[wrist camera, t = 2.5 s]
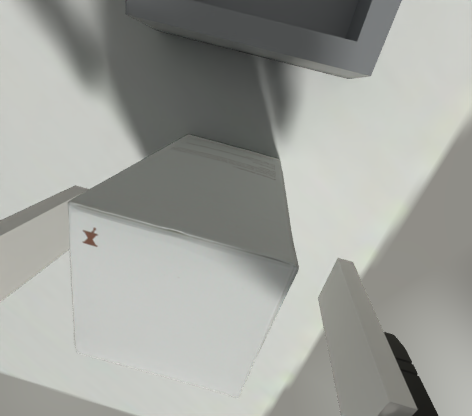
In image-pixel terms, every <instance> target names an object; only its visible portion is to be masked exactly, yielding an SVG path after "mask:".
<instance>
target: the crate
mask: <svg viewBox="0 0 472 416" xmlns="http://www.w3.org/2000/svg"><path fill="white" fill-rule="evenodd" d="M401 1H402V0H126V15H128V16H130V17H132V18H134V19H136V20H138V21H140V22H142V23H144V24H146V25H148V26H150V27H152V28H154V29H156V30H158V31H161V32H165V33H169V34H173V35H177V36H181V37H185V38H189V39H193V40H197V41H201V42H205V43H209V44H213V45H217V46H220V47H224V48H228V49H232V50H236V51H240V52H244V53H248V54H252V55H256V56H260V57H264V58H268V59H272V60H276V61H280V62H284V63H288V64H292V65H296V66H299V67H303V68H307V69H311V70H315V71H319V72H323V73H327V74H331V75H335V76H339V77H343V78H347V79H353V78H360V77H368V76H371V74H372V72H373V69H374V67H375V64H376V62H377V59H378V57H379V55H380V52H381V50H382V47H383V45H384V42H385V40H386V37H387V35H388V33H389V30H390V28H391V25H392V23H393V20H394V18H395V15H396V13H397V11H398V8H399V6H400V3H401Z"/></svg>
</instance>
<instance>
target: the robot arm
mask: <svg viewBox="0 0 472 416" xmlns="http://www.w3.org/2000/svg"><path fill="white" fill-rule="evenodd" d="M87 190H89V189H86V188H83V187H79V186H76V185H75V186H73V187H71V188H69V189H66V190H64V191H62V192H60V193H58V194H56V195H54V196H52V197H49V198H47V199H45V200H43V201H41V202H39V203H37V204H35V205H32V206H30V207H28V208H26V209H24V210H22V211H20V212H17V213H15V214H13V215H11V216H9V217H7V218H5V219H3V220H0V302H2V301H3V300H4V299H5V298H7V297H8V296H9V295H11V294H12V293H13V292H15V291H16V290H17V289H19V288H20V287H21V286H22V285H24V284H25V283H26V282H28V281H29V280H30V279H32V278H33V277H34V276H36V275H37V274H38V273H39V272H41V271H42V270H43V269H45V268H46V267H47V266H49V265H50V264H51V263H53V262H54V261H55V260H56V259H58V258H59V257H60V256H62V255H63V254H64V253H66V252H67V251H68V250H70V248H69V216H68V202H69V201H70V200H71V199H73V198H75V197H77V196H78V195H80V194H82V193H84V192H86V191H87ZM318 301H319V306H320V311H321V316H322V321H323V326H324V331H325V336H326V341H327V347H328V352H329V357H330V362H331V367H332V372H333V377H334V383H335V388H336V392H337V398H338V403H339V408H340V413H341V416H438V414H437V412H436V410H435V408H434V406H433V404H432V402H431V400H430V398H429V396H428V394H427V392H426V390H425V388H424V386H423V383H422V382H421V379H420V378H419V376H417V371H416V369H415V367H414V365H412V361H411V359H410V357H409V355H408V353H407V351H406V349H405V348H404V346H403V345H402V344H401V343H400V342H399V340H398V339H397V338H396V337H395V336H394V335H392V334H389V333H386V332H383V330H382V327H381V325H380V323H379V320H378V318H377V316H376V313H375V311H374V310H373V307H372V304H371V302H370V300H369V298H368V295H367V293H366V291H365V289H364V286H363V284H362V282H361V279H360V277H359V275H358V273H357V270H356V268H355V266H354V263H353V262H351V261H347V260H344V259H340V258H338V259H337V261H336V263H335V265H334V267H333V269H332V271H331V273H330V275H329V277H328V279H327V281H326V283H325V285H324V287H323V289H322V291H321V293H320V295H319V297H318Z"/></svg>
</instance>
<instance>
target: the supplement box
mask: <svg viewBox="0 0 472 416" xmlns="http://www.w3.org/2000/svg"><path fill="white" fill-rule="evenodd" d="M68 216H69V248H70V267H71V286H72V304H73V322H74V341H75V348H76V352H77V353H79V354H82V355H85V356H89V357H93V358H97V359H101V360H104V361H108V362H112V363H115V364H119V365H123V366H126V367H130V368H134V369H137V370H141V371H144V372H148V373H152V374H155V375H159V376H162V377H166V378H169V379H173V380H176V381H180V382H184V383H187V384H191V385H194V386H198V387H201V388H205V389H208V390H211V391H215V392H218V393H222V394H225V395H228V396H232V397H235V398H239V397H240V394H241V391H242V389H243V387H244V385H245V382H246V380H247V378H248V375H249V373H250V371H251V368H252V366H253V364H254V361H255V359H256V357H257V355H258V353H259V351H260V349H261V347H262V345H263V343H264V341H265V338H266V336H267V334H268V332H269V330H270V328H271V326H272V324H273V322H274V320H275V317H276V315H277V313H278V311H279V309H280V307H281V305H282V303H283V301H284V299H285V297H286V295H287V292H288V290H289V288H290V286H291V284H292V282H293V280H294V278H295V276H296V274H297V272H298V269H299V266H298V261H297V257H296V252H295V248H294V243H293V238H292V232H291V225H290V219H289V212H288V205H287V198H286V191H285V185H284V178H283V172H282V167H281V162H280V159H277V158H273V157H270V156H267V155H263V154H260V153H256V152H252V151H249V150H245V149H241V148H238V147H234V146H230V145H227V144H223V143H219V142H215V141H212V140H208V139H204V138H200V137H197V136H193V135H190V134H187V135H186V136H184V137H182V138H180V139H179V140H177V141H175V142H173V143H171V144H170V145H168V146H166V147H164V148H163V149H161V150H159V151H157V152H155V153H153V154H152V155H150V156H148V157H146V158H145V159H143V160H141V161H139V162H137V163H136V164H134V165H132V166H130V167H128V168H127V169H125V170H123V171H121V172H120V173H118V174H116V175H114V176H112V177H111V178H109V179H107V180H105V181H103V182H102V183H100V184H98V185H96V186H94V187H93V188H91V189H89V190H87V191H86V192H84V193H82V194H80V195H78V196H77V197H75V198H73V199H71V200H70V201H69V202H68Z"/></svg>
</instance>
